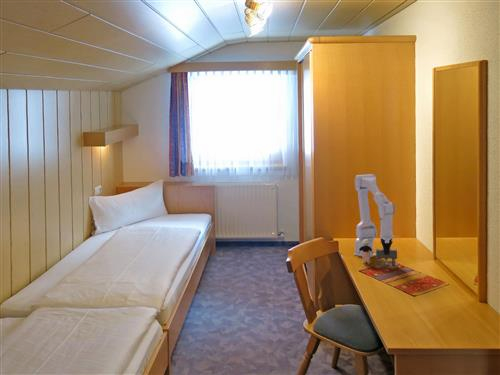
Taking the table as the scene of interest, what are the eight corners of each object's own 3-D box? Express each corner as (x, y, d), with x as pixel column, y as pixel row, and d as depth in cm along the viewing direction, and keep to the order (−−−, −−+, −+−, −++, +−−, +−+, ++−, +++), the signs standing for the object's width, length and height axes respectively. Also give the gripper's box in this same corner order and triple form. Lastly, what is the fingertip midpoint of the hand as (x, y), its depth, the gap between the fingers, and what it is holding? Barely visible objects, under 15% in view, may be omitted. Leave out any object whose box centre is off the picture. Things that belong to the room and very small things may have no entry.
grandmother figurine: (372, 261, 275) (372, 238, 273) (373, 264, 271) (373, 239, 270) (357, 261, 276) (357, 238, 274) (358, 264, 272) (358, 240, 270)
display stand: (375, 267, 265) (375, 260, 264) (374, 264, 271) (374, 256, 270) (398, 268, 263) (398, 260, 262) (397, 264, 269) (397, 257, 268)
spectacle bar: (376, 258, 266) (376, 250, 265) (376, 256, 268) (376, 248, 268) (397, 258, 264) (397, 250, 263) (396, 257, 266) (396, 249, 266)
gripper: (395, 230, 256) (395, 257, 258) (393, 223, 270) (393, 249, 272) (380, 230, 257) (380, 257, 259) (379, 223, 271) (379, 249, 273)
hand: (386, 253), depth 266 cm, fingers closed on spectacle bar, 3 cm apart
